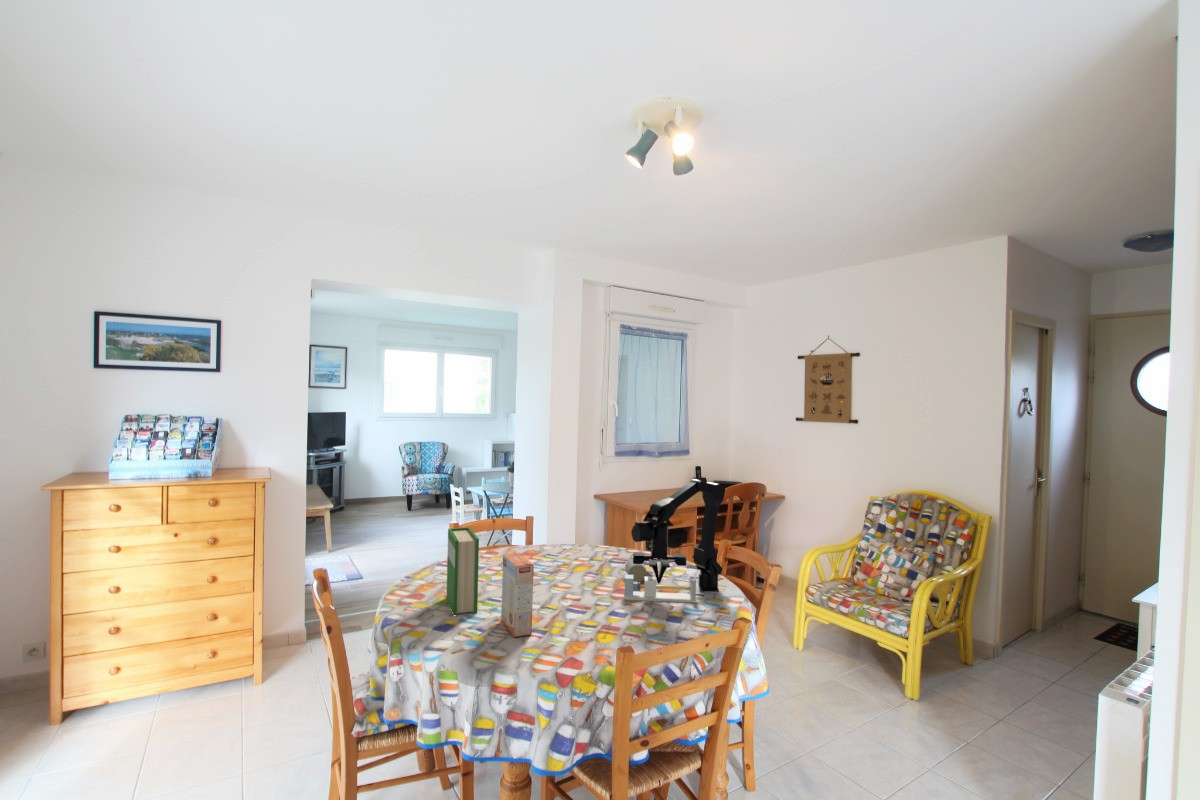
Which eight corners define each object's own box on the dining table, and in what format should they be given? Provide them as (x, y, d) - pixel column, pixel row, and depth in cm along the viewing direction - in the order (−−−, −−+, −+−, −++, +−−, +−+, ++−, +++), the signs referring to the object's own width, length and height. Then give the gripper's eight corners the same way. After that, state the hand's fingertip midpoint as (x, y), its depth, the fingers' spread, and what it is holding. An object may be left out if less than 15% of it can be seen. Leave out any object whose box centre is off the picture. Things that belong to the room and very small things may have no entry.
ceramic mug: (628, 583, 206) (629, 563, 207) (624, 576, 215) (625, 557, 215) (655, 583, 208) (656, 563, 208) (650, 576, 216) (651, 557, 216)
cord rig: (694, 595, 195) (694, 574, 195) (696, 602, 188) (696, 581, 188) (624, 592, 196) (625, 572, 196) (624, 599, 189) (624, 578, 189)
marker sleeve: (655, 591, 195) (655, 576, 195) (655, 596, 190) (656, 581, 190) (644, 591, 195) (644, 576, 195) (644, 596, 190) (644, 580, 190)
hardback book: (477, 613, 174) (478, 538, 174) (453, 616, 171) (455, 540, 171) (468, 595, 190) (469, 527, 191) (446, 597, 187) (448, 528, 188)
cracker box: (533, 635, 158) (534, 563, 159) (513, 638, 156) (514, 566, 156) (519, 617, 171) (520, 551, 171) (500, 620, 169) (502, 553, 169)
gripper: (683, 534, 200) (682, 577, 200) (633, 533, 201) (632, 575, 201) (686, 542, 189) (686, 587, 188) (633, 540, 190) (632, 585, 189)
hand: (658, 583), depth 192 cm, fingers closed
